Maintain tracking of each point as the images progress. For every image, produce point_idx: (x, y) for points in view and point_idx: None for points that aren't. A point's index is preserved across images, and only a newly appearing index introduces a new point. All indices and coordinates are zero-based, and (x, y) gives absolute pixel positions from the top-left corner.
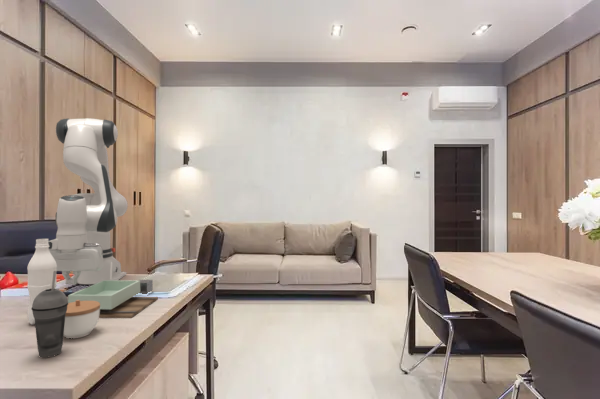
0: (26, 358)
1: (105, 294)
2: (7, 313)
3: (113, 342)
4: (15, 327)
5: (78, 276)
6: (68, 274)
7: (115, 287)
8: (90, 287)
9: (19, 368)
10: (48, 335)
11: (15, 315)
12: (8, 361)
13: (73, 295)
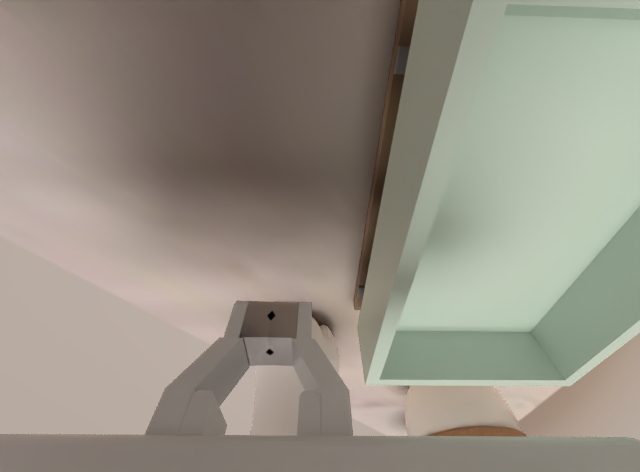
0: (392, 421)
1: (484, 168)
2: (73, 269)
3: (524, 394)
4: None
5: (325, 361)
6: (208, 380)
7: (595, 15)
8: (414, 269)
9: (400, 432)
10: None
11: (137, 286)
12: (371, 425)
13: (390, 384)
